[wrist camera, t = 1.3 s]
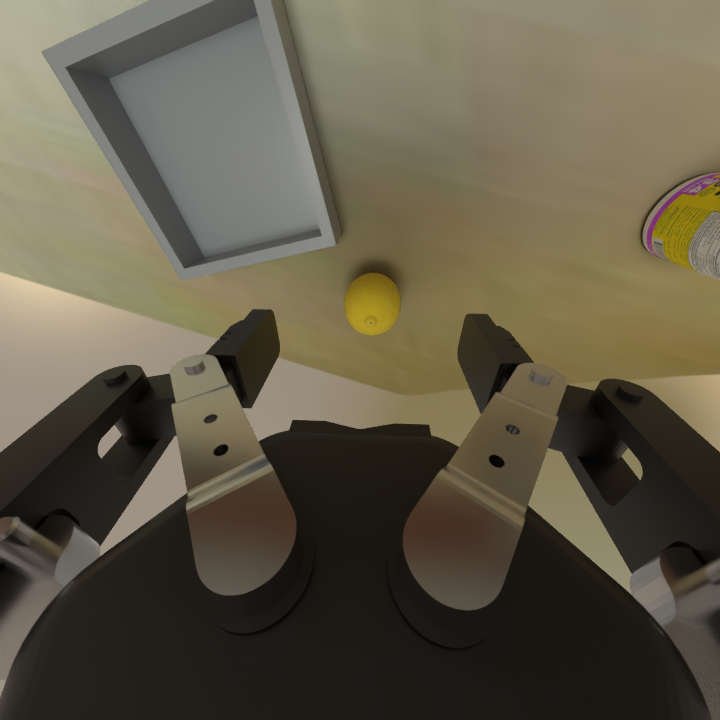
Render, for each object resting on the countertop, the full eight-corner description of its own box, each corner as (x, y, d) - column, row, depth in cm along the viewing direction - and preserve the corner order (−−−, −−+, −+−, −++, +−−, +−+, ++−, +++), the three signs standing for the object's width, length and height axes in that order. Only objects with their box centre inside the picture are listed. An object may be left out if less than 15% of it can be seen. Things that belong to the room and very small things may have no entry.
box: (279, -16, 19) (257, -51, 16) (342, 234, 28) (336, 245, 25) (91, 66, 22) (41, 51, 19) (202, 267, 31) (181, 280, 28)
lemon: (379, 319, 33) (378, 359, 27) (339, 293, 31) (327, 329, 25) (409, 281, 30) (416, 316, 24) (367, 251, 29) (361, 279, 22)
